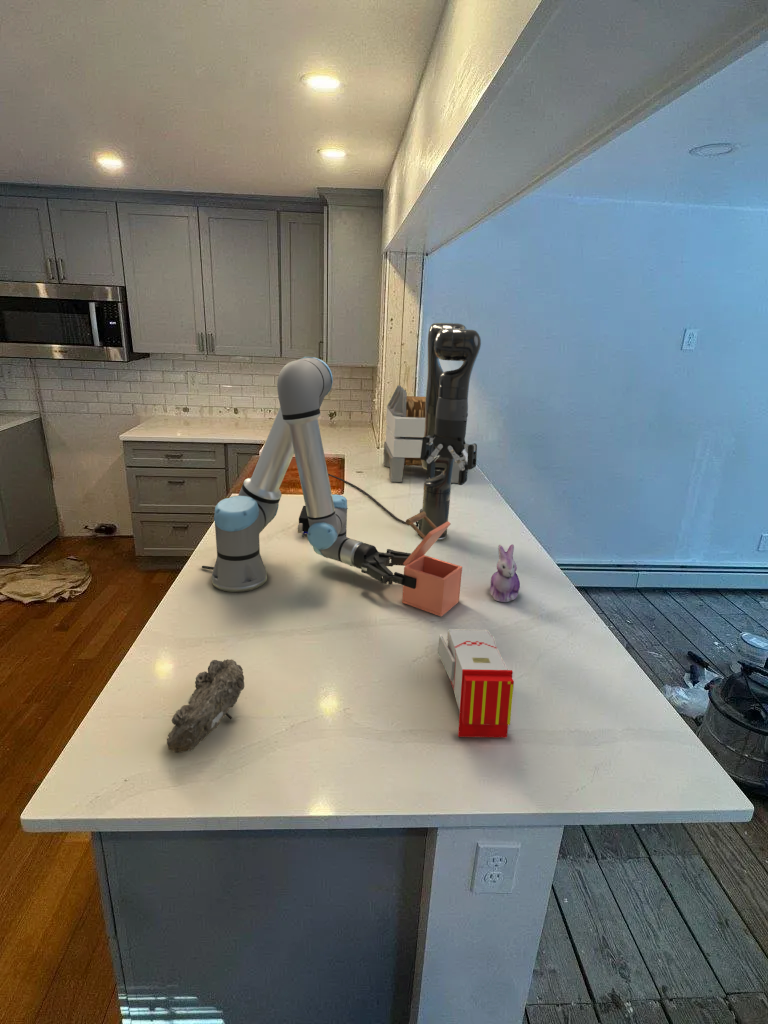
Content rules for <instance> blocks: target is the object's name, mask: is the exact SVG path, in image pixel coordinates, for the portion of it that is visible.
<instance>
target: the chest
mask: <svg viewBox="0 0 768 1024" xmlns="http://www.w3.org/2000/svg"><path fill="white" fill-rule="evenodd" d="M462 574H463V566H461V565H458V564H455V563H452V562H449V561H445V560H442V559H438V558H435V557H432V556H429V555H426V554H424V555H423V556H421V557H420V558H418V559H417V560H415V561H413V562H412V563H410V564H409V565H407V566H403V575H406V576H409V577H412V578H415V579H416V588H415V589H413V588H410V587H407V586H404V585H402V598H401V603H402V604H404V605H408V606H410V607H414V608H416V609H419V610H422V611H424V612H427V613H430V614H433V615H435V616H438V617H443V616H444V615H445V614H447V612H449V611H450V610H451V609H452V608H453V607H455V606H456V605H457V604H458V603H459V602H460V596H461V586H462V585H461V584H462V577H463V575H462Z"/></svg>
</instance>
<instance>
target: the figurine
mask: <svg viewBox="0 0 768 1024" xmlns="http://www.w3.org/2000/svg"><path fill="white" fill-rule="evenodd" d="M497 549H498V561H497V563H496V570H497V571H495V572H494V573H493V574H492V575H491V577H490V586H489V594H490V596H491V597H492V599H493V600H494V601H496V602H501V603H508V602H510V601H514V600H516V599H517V597H518V595H519V591H520V588H521V582H520V579H519V576H518V574H517V570H518V566H517V562H516V560H515V559H514V551H515V546H514V544H510V545H509V546H508V548H507V551H506V550H505V549H504V547H503V546H502V545H500V544H499V545H498V547H497Z"/></svg>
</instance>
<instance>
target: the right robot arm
mask: <svg viewBox="0 0 768 1024" xmlns="http://www.w3.org/2000/svg"><path fill="white" fill-rule="evenodd" d="M481 347H482V339H481V336H480V334H479V332H478V331H477V330H475V329H468V328H467V326H466V325H464V324H462V323H457V322H455V323H453V322H434V323H432V324H431V325H430V326H429V328H428V334H427V381H426V389H425V390H426V391H425V397H426V402H425V431H424V437H423V440H422V448H421V457H420V458H421V461H422V466H421V467H422V468H423V470H426V476H427V479H425V480H424V482H423V493H422V496H423V497H422V506H421V508H420V509H419V513H421V512H423V511H424V512H425V513H426V516H427V517H428V518H429V519H430V520H431V521H432V523H433V524H434V525H435V526H436V527H439V526H441V525H442V524H444V523H446V522H448V521H449V517H450V516H449V514H450V504H451V494H452V493H451V491H452V483H451V479H452V470H453V464H454V460H455V462H456V463H457V464H458V465H459V467H460V469H461V470H459V480H458V483H457V484H458V485H459V486H464V484H465V483H466V482H467V481H468V474H469V473H468V472H469V471H470V470H472V469H475V468H476V467H477V453H478V444H477V443H467V442H466V434H467V426H468V425H467V423H468V417H469V392H470V391H469V389H470V381H471V376H472V372H473V369H474V367H475V363H476V360H477V358H478V355H479V353H480V350H481ZM440 360H441V361H453V362H462V365H461V366H460V367H459V368H455V369H451V370H446V371H444V370H443V368H442V365H441V363H440ZM464 450H465V452H466V453H467V457H466V455H465V453H464ZM436 471H437V472H440V471H443V473H441V472H440V474H438V475H436ZM435 475H436V476H435ZM328 476H329V477H331V478H334V479H336V480H338V481H341V482H344V483H346V484H348V485H349V486H352V487H354V488H355V489H357V490H359V491H360V492H362V493H363V494H365V495H366V496H367V497H369V498H370V499H371V500H372V501H374V503H376V505H378V506H379V507H380V508H381V509H383V510H384V512H386V513H387V514H389V515H390V516H391V517H392V518H393V519H395V520H396V521H398V522H400V523H402V524H404V525H407V524H406V521H404V520H402V519H400V518H399V517H397V516H395V514H393V513H392V512H391V511H390V510H388V509H387V508H386V507H384V505H382V504H381V503H380V502H379V501H377V499H375V498H374V497H373V496H372V495H370V494H369V493H367V492H366V491H365V490H363V489H362V488H360V487H359V486H357V485H355V484H353V483H351V482H349V481H347V480H345V479H343V478H341V477H338V476H335V475H333V474H330V473H328ZM414 525H415V526H416V527H417V528H418V529H419V530H420V531H421V532H422V533H423V534H424V535H425V536H426V535H427V534H428V533H429V532H430V531H432V530H434V528H433V527H432V526H431V525H430V524H429V523H428V522H427V521H426V520H425V519H424V518H422V519H421V520H419V521H417V522H415V524H414ZM417 535H418V536H420V535H419V534H418V533H417ZM420 537H421V536H420ZM447 538H448V528H447V529H446V530H445V531H444V532H443V534H442V535H441V536H440V537H439V538H438V540H437V541H436V542H440V541H444V540H446V539H447Z"/></svg>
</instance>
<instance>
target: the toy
mask: <svg viewBox="0 0 768 1024" xmlns="http://www.w3.org/2000/svg"><path fill="white" fill-rule="evenodd" d="M446 640H447V643H446V641H445V639H444V636H443V635H442V634H439V637H438V646H437V656H438V657H439V659H440V661H441V663H442V666H443V668H444V670H445V672H446V674H447V677H448V679H449V681H450V684H451V687H452V690H453V693H454V697H455V701H456V705H457V708H458V711H459V714H458V715H459V716H458V730H457V731H458V732H457V737H458V738H508V731H509V726H510V725H511V717H512V707H513V697H514V696H513V695H514V684H515V680H514V679H513V673H514V671H513V670H512V669H508V667H507V665H506V662H505V661H504V659H503V658H502V655H501V653H500V651H499V649H498V647H497V643H496V639H495V637H494V635H493V634H491V632H490V631H489V629H467V628H466V629H465V628H463V629H461V628H460V629H459V628H448V630H447V639H446Z"/></svg>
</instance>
